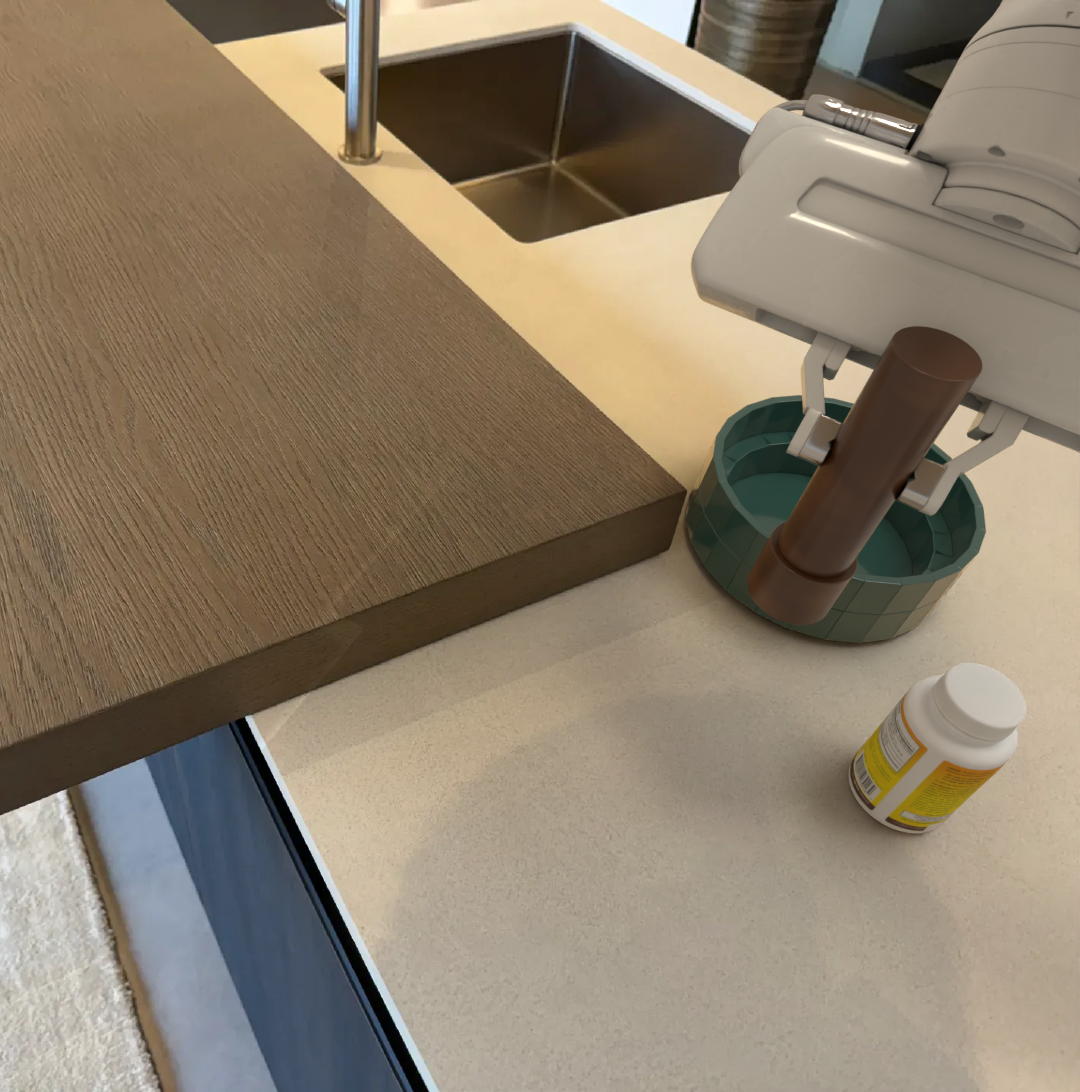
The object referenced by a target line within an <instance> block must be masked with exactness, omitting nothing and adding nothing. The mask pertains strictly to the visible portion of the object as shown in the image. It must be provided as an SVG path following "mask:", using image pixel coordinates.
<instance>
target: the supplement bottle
mask: <svg viewBox="0 0 1080 1092" xmlns="http://www.w3.org/2000/svg"><path fill="white" fill-rule="evenodd" d="M1022 693H1023V692H1022V691H1021V690H1020V689H1019V687H1018V686H1017V685H1016V683H1015V682H1014V681H1013V680H1012V679H1010V677H1008V676H1006V675H1005V674H1004V673H1002V672H1001V671H999V670H997V669H995V668H993V667H990V666H988V665H986V664H982V663H978V662H968V661H967V662H961V663H957V664H955V665H953V666H951V667H950V668H948V670H947V671H946V672H945V674H935V675H930V676H926V677H924V678H922V679H920V680H918V681H916V682H915V683H914V684H913V685H912V686H911V687H909V689H908V690H907V691H906V693H905V694H904V695H903V696H902V697H901V699H900V700H899V701H898V702H897V703H896V705H895V706H894V707H893V708H892V709H891V710H890V712H889V713H888V714H887V715H886V717H884V719H883V720H882V722H881V723H880V724H879V726H877V728H876V729H875V730H874V731H873V733H871V735H870V736H869V737H868V739H867V740H866V741H865V742H864V743H863V744H862V746H861V747H860V748H859V749H858V751H857V752H856V753H855V755H854V756H853V757H852V759H851V762H850V763H849V768H848V783H849V786H850V789H851V792H852V794H853V796H854V798H855V800H856V801H857V803H858V804H859V805H860V807H861V808H862V809H863V810H864V811H865V812H866V813H867V814H868V815H869V816H870V817H872V818H873V819H874V820H876V821H877V822H879V823H880V824H882V825H884V826H886V827H887V828H890V829H893V830H895V831H899V832H901V833H907V834H922V833H923V834H924V833H928V832H931V831H933V830H935V829H936V828H938V827H939V826H941V825H942V824H943V823H944V822H946V821H947V820H948V819H949V818H950V817H951V816H952V815H953V814H954V813H955V812H956V811H957V810H958V809H959V808H960V807H961V806H962V805H964V804H965V802H967V800H969V799H970V798H971V797H972V796H973V795H974V794H975V793H976V792H977V791H978V790H979V789H981V787H982V786H983V785H985V784H986V782H988V781H989V780H990V779H991V778H992V777H993V776H994V775H995V774H996V773H997V772H998V771H1000V769H1001V768H1003V767H1004V766H1005V765H1006V764H1007V762H1009V760H1010V759H1011V758H1012V757H1013V756H1014V754H1015V753H1016V751H1017V749H1018V744H1019V732H1018V731H1019V730H1018V726H1019V725H1021V724H1022V722H1023V721H1024V720H1025V718H1026V715H1027V702H1026V699H1025V697H1024V695H1023V694H1022Z"/></svg>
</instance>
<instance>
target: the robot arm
mask: <svg viewBox="0 0 1080 1092" xmlns="http://www.w3.org/2000/svg"><path fill="white" fill-rule="evenodd" d="M999 4H1000V5H999V6H998V7H997V9H996V11H994V14H992V16H991V17H990V18H989V19H988V20H987V21H986V22H985V23H984V24H983V26H982V27H980V29H979V30H978V31H977V32H976V33H975V34H974V35H973V37H972V38H971V39H970V40H969V42H968V43H967V44H966V46H965V48H964V49H963V51H962V53H961V55H960V57H959V58H958V60H957V62H956V64H955V65H954V68H953V70H952V71H951V73H950V74H949V77H948V78H947V80H946V82H945V84H944V86H943V88H942V90H941V91H940V94H939V95H938V97H937V99H936V101H935V103H934V104H933V106H932V108H931V110H930V112H929V114H928V115H927V117H926V119H925V122H924V123H921V124H918V123H914V122H912V121H909V120H906V119H905V120H904V119H901V118H898V117H895V116H892V115H889V114H885V113H882V112H878V111H872V110H868V109H867V110H866V109H861V108H858V107H854V106H852V105H849V104H846V103H845V101H843V100H841V99H839V98H836V97H833V96H829V95H825V94H814V93H813V94H812V95H810V97H809V98H808V100H807V99H792V100H787V101H784V102H782V103H779V104H777V105H775V106H774V107H772V108H770V109H768V110H767V111H766V112H765V113H764V114H763V115H762V116H761V118H760V119H759V120H758V121H757V122H756V124H755V126H754V128H753V130H752V132H751V133H750V135H749V138H748V139H747V141H746V143H745V145H744V147H743V149H742V150H741V153H740V156H739V160H738V165H737V169H738V176H739V178H738V181H737V182H736V183H735V185H734V186H733V188H732V189H731V190H730V192H729V193H728V195H727V196H726V197H725V198H724V201H723V202H722V203H721V205H720V206H719V208H718V209H717V210H716V212H715V214H714V216H712V219H711V220H710V222H709V224H708V225H707V227H706V229H705V230H704V232H703V234H702V236H701V237H700V239H699V241H698V242H697V244H696V246H695V248H694V250H693V252H692V256H691V260H690V273H691V278H692V282H693V283H692V284H693V285H694V289H695V291H696V294H697V297H698V298H699V299H700V300H701V301H702V302H704V303H707V304H709V305H712V306H714V307H716V308H719V309H721V310H724V311H726V312H729V313H731V314H734V315H736V316H738V317H741V318H743V319H746V320H748V321H751V322H754V323H756V324H759V325H760V326H763V327H766V328H768V329H771V330H773V331H775V332H778V333H781V334H783V335H786V336H788V337H790V338H793V339H795V340H798V341H800V342H803V343H806V344H808V345H810V346H809V349H808V350H807V352H806V354H805V356H804V358H803V360H802V363H801V367H800V382H801V383H800V384H801V385H800V386H801V395H802V402H803V414H805V417H804V419H803V420H802V422H801V424H800V426H799V428H798V430H797V431H796V433H795V435H794V437H793V439H792V441H791V443H790V445H789V447H788V449H787V451H786V453H788V454H791V455H793V456H795V457H797V456H798V457H797V458H800V459H802V460H805V461H807V462H809V463H812V464H814V465H816V466H820V465H821V464H822V462H823V461H824V459H825V457H826V455H827V453H828V452H829V450H830V445H831V443H832V442H833V441H834V440H835V439H836V437H837V435H838V433H839V430H840V428H841V426H842V424H843V423H841V422H839V421H837V420H835V419H832V418H830V417H828V416H826V415H825V400H824V397H825V384H824V382H825V381H824V379H825V380H827V381H833V380H835V378H836V377H837V374H838V373H839V371H840V369H841V368H842V365H843V364H844V361H845V360H848V361H850V362H853V363H856V364H858V365H861V366H863V367H866V368H868V369H870V370H872V371H873V370H874V368H875V366H876V365H877V363H878V361H879V359H880V358H881V356H882V354H883V352H884V351H885V349H886V347H887V345H888V344H889V342H890V340H891V338H892V337H893V335H894V334H895V333H896V332H897V331H899V330H901V329H903V328H906V327H912V326H924V327H931V328H935V329H939V330H942V331H945V332H948V333H950V334H952V335H954V336H956V337H958V338H960V339H962V340H963V341H965V342H966V343H968V344H969V345H970V346H971V347H972V348H973V349H974V350H975V351H976V352H977V353H978V355H979V356H980V358H981V360H982V371H981V373H980V375H979V376H978V378H977V379H976V381H975V382H974V384H973V385H972V387H971V388H970V390H969V391H968V393H967V394H966V396H965V397H964V399H963V400H962V402H961V403H960V405H959V406H962V407H964V408H967V409H970V410H971V411H974V412H977V413H976V415H975V417H974V418H973V421H972V423H970V427H969V428H968V430H967V432H966V436H967V438H968V439H971V440H973V441H975V442H978V441H979V442H978V443H977V444H975V445H974V446H972V447H970V448H969V449H967V450H965V451H963V452H962V453H961V454H958V455H957V456H954V458H952V460H950V461H949V462H947V463H945V464H944V465H941V464H939V463H936V462H934V461H931V460H929V459H926V458H923V459H922V461H921V462H920V464H919V465H918V467H917V468H916V469H915V471H914V472H913V474H912V476H911V477H910V479H909V480H908V483H906V484H905V486H904V487H903V489H902V491H901V492H900V493H899V495H898V496H897V497H896V499H895V500H896V501H898V502H900V503H903V504H905V505H907V506H909V507H911V508H913V509H916V510H918V511H920V512H922V513H925V514H927V515H929V516H931V515H934V514H935V513H936V512H937V511H938V510H939V508H940V507H941V505H942V504H943V502H944V500H945V499H946V497H947V495H948V493H949V492H950V490H951V488H952V486H953V485H954V483H955V481H956V479H957V478H958V476H960V475H962V474H964V473H965V474H966V473H967V472H969V471H971V470H972V469H974V468H976V467H977V466H979V465H981V464H982V463H985V462H986V461H987V460H989V459H991V458H993V457H995V456H996V455H998V454H1000V453H1001V452H1003V451H1004V450H1006V449H1008V448H1010V447H1012V446H1014V444H1015V442H1016V440H1017V439H1018V437H1019V435H1020V434H1021V432H1022V431H1023V432H1024V431H1025V432H1026V433H1029V434H1032V435H1033V436H1036V437H1039V438H1042V439H1043V440H1044V439H1045V440H1047V441H1049V442H1051V443H1054V444H1056V445H1058V446H1060V447H1061V446H1062V447H1064V448H1066V449H1069V450H1071V451H1074V452H1076V453H1079V454H1080V0H1001V2H1000V3H999ZM794 111H802V114H799V113H796V112H794ZM906 152H907V154H906ZM801 449H802V450H801Z"/></svg>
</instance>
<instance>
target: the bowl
mask: <svg viewBox="0 0 1080 1092" xmlns="http://www.w3.org/2000/svg"><path fill="white" fill-rule="evenodd" d="M824 400H825V415H826V416H828V417H830V418H832V419H835V420H837V421H839V422H841V423H843V422H844V421H845V419H846V417H847V415H848V414H849V412H850V410H851V408H852V407H853V405H854V403H855V402H854V403H852V402H850V401H845V400H841V399H837V398H833V397H826V396H824ZM804 417H805V414H803V402H802V394H796V395H795V394H794V395H783V396H771V397H768V398H765V399H762V400H759V401H756V402H752V403H749V404H747V405H745V406H744V407H741V409H739V410H738V411H736V412H735V413H732V415H731V416H729V417H728V418H727V419H726V420H725V421H724V423H723V424H722V426H721V428H720V429H719V430H718V432H717V434H716V435H715V437H714V440H713V442H712V444H711V447H710V448H709V451H708V453H707V455H706V458H705V460H704V462H703V464H702V467H701V469H700V471H699V473H698V475H697V478H696V480H695V482H694V485H693V487H692V488H691V491H690V492H689V496H688V499H687V505H686V506H687V507H686V513H685V522H686V527H687V532H688V536H689V541H690V544H691V545H692V548H693V549H694V552H695V553H696V555H697V557H698V558H699V560H700V562H701V564H702V565H703V567H704V568H705V570H706V571H707V572H708V573H709V574H710V575H711V577H713V578H714V579H715V581H716V582H717V583H718V584H719V586H721V587H722V588H723V589H724V591H726V592H727V593H728V594H729V595H730V596H732V597H733V598H735V599H736V600H737V601H739V602H740V603H741V604H743V605H744V606H745V607H747V608H748V609H749V610H750V611H752V612H753V613H755V614H757V615H759V616H761V617H763V618H765V619H767V620H769V621H771V622H773V623H775V624H777V625H779V626H781V627H782V628H783V627H784V628H785V629H787V630H790V631H793V632H797V633H801V634H803V635H808V636H811V637H815V638H817V639H821V640H825V641H833V642H834V641H835V642H845V643H854V644H855V643H856V644H862V643H869V642H878V641H883V640H884V641H885V640H891V639H895V638H896V637H898V636H900V635H902V634H905V633H907V632H910V631H912V630H913V629H916V628H917V627H919V625H920V624H921V623H922V622H923V621H924V620H925V619H926V618H927V617H928V616H929V615H930V614H931V613H932V612H934V610H935V609H936V607H937V606H938V605H939V604H940V603H941V601H942V600H943V599H944V597H945V596H946V595H947V593H948V592H949V591H950V590H951V588H953V586H954V585H955V584H956V582H957V581H959V578H960V577H961V576H962V575H963V573H964V572H965V571H966V570H967V568H969V566H970V565H971V563H972V562H973V561H974V560H975V558H976V557H977V556H978V555H979V553H980V551H981V548H982V545H983V542H984V540H985V539H984V538H985V536H986V533H987V528H986V527H987V525H986V517H985V509H984V505H983V502H982V501H981V498H980V497H979V494H978V492H977V490H976V488H975V486H974V484H973V482H972V481H971V479H970V478H969V477H968V476H967V474H966V473H964V474H962V475H960V476H958V478H957V479H956V481H955V483H954V485H953V486H952V488H951V490H950V492H949V493H948V495H947V497H946V499H945V500H944V502H943V504H942V505H941V507H940V508H939V510H938V511H937V512H936V513H935V514H934V515H931V516H929V515H927V514H925V513H922V512H920V511H918V510H916V509H913V508H911V507H909V506H907V505H905V504H903V503H900V502H898V501H896V500H895V501H894V503H893V504H892V506H891V507H890V508H889V510H888V511H887V513H886V514H885V516H884V517H883V519H882V520H881V522H880V523H879V525H878V526H877V528H876V529H875V531H874V532H873V534H872V535H871V537H870V538H869V540H868V541H867V543H866V544H865V546H864V547H863V549H862V550H861V552H860V553H859V554H858V556H857V569H856V572H855V574H854V575H853V577H852V578H851V580H850V581H849V582H848V584H847V585H846V587H845V588H844V590H843V591H842V593H841V594H840V596H839V597H838V599H837V600H836V601H835V603H834V604H833V606H832V607H831V609H830V610H829V612H828V613H827V615H826V616H825V617H824V618H823V619H821V620H820V621H818V622H816V623H813V624H808V625H795V624H790V623H786V622H783V621H780V620H778V619H775V618H774V617H772V616H770V615H769V614H767V613H766V612H764V611H763V610H762V609H761V608H760V607H759V606H758V605H757V604H756V603H755V602H754V600H753V599H752V597H751V595H750V593H749V590H748V586H747V579H748V575H749V573H750V571H751V569H752V567H753V566H754V564H755V562H756V560H757V559H758V557H759V555H760V553H761V552H762V550H763V548H764V546H765V544H766V543H767V541H768V539H769V537H770V536H771V534H772V532H773V531H774V529H775V528H776V527H777V526H779V525H780V524H782V523H784V522H787V520H788V518H789V517H790V515H791V513H792V511H793V510H794V508H795V506H796V504H797V503H798V501H799V499H800V497H801V496H802V494H803V492H804V490H805V489H806V487H807V485H808V483H809V482H810V480H811V478H812V476H813V475H814V473H815V471H816V469H817V468H818V466H816V465H814V464H812V463H809V462H807V461H805V460H802V459H800V458H797V457H798V456H797V457H795V456H793V455H791V454H788V453H786V451H787V449H788V447H789V445H790V443H791V441H792V439H793V437H794V435H795V433H796V431H797V430H798V428H799V426H800V424H801V422H802V420H803V419H804ZM801 450H802V449H801ZM924 458H926V459H929V460H931V461H934V462H936V463H939V464H941V465H944V464H945V463H947V462H949V461H950V460H952V459H953V458H952V457H951V456H950V454H949V455H948V454H947V453H946V452H945V451H944V450H943V449H941V448H940V447H939V446H938V445H937V444H935V442H934V443H933V445H932V446H931V448H930V449H929V451H928V452H927V454H926V455H925V457H924ZM907 483H908V482H907Z"/></svg>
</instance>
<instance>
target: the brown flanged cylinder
mask: <svg viewBox="0 0 1080 1092" xmlns="http://www.w3.org/2000/svg"><path fill="white" fill-rule="evenodd" d="M981 371H982V360H981V358H980V356H979V355H978V353H977V352H976V351H975V350H974V349H973V348H972V347H971V346H970V345H969V344H968V343H966V342H965V341H963V340H962V339H960V338H958V337H956V336H954V335H952V334H950V333H948V332H945V331H942V330H939V329H935V328H931V327H924V326H912V327H906V328H903V329H901V330H899V331H897V332H896V333H895V334H894V335H893V337H892V338H891V340H890V342H889V344H888V345H887V347H886V349H885V351H884V352H883V354H882V356H881V358H880V359H879V361H878V363H877V365H876V366H875V368H874V370H873V369H872V371H871V373H870V375H869V377H868V379H867V380H866V382H865V384H864V385H863V388H862V389H861V391H860V393H859V394H858V396H857V397H856V399H855V400H854V405H853V407H852V408H851V410H850V412H849V414H848V415H847V417H846V419H845V421H844V422H843V424H842V426H841V428H840V430H839V433H838V435H837V437H836V439H835V440H834V441H833V442H832V443H831V445H830V450H829V452H828V453H827V455H826V457H825V459H824V461H823V462H822V464H821V465H820V466H818V468H817V469H816V471H815V473H814V475H813V476H812V478H811V480H810V482H809V483H808V485H807V487H806V489H805V490H804V492H803V494H802V496H801V497H800V499H799V501H798V503H797V504H796V506H795V508H794V510H793V511H792V513H791V515H790V517H789V518H788V520H787V522H784V523H782V524H780V525H779V526H777V527H776V528H775V529H774V531H773V532H772V534H771V536H770V537H769V539H768V541H767V543H766V544H765V546H764V548H763V550H762V552H761V553H760V555H759V557H758V559H757V560H756V562H755V564H754V566H753V567H752V569H751V571H750V573H749V575H748V579H747V586H748V590H749V593H750V595H751V597H752V599H753V600H754V602H755V603H756V604H757V605H758V606H759V607H760V608H761V609H762V610H763V611H764V612H766V613H767V614H769V615H770V616H772V617H774V618H775V619H778V620H780V621H783V622H786V623H790V624H795V625H808V624H813V623H816V622H818V621H820V620H821V619H823V618H824V617H825V616H826V615H827V613H828V612H829V610H830V609H831V607H832V606H833V604H834V603H835V601H836V600H837V599H838V597H839V596H840V594H841V593H842V591H843V590H844V588H845V587H846V585H847V584H848V582H849V581H850V580H851V578H852V577H853V575H854V574H855V572H856V569H857V556H858V554H859V553H860V552H861V550H862V549H863V547H864V546H865V544H866V543H867V541H868V540H869V538H870V537H871V535H872V534H873V532H874V531H875V529H876V528H877V526H878V525H879V523H880V522H881V520H882V519H883V517H884V516H885V514H886V513H887V511H888V510H889V508H890V507H891V506H892V504H893V503H894V501H895V499H896V497H897V496H898V495H899V493H900V492H901V491H902V489H903V487H904V486H905V484H906V483H907V482H908V480H909V479H910V477H911V476H912V474H913V472H914V471H915V469H916V468H917V467H918V465H919V464H920V462H921V461H922V459H923V458H924V457H925V455H926V454H927V452H928V451H929V449H930V448H931V446H932V445H933V443H934V444H935V442H936V440H937V439H938V438H939V436H940V435H941V433H942V432H943V429H944V428H945V427H946V426H947V424H948V422H949V421H950V420H951V418H952V416H953V415H954V414H955V412H956V411H957V409H958V408H959V406H961V405H960V403H961V402H962V400H963V399H964V397H965V396H966V394H967V393H968V391H969V390H970V388H971V387H972V385H973V384H974V382H975V381H976V379H977V378H978V376H979V375H980V373H981Z"/></svg>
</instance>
